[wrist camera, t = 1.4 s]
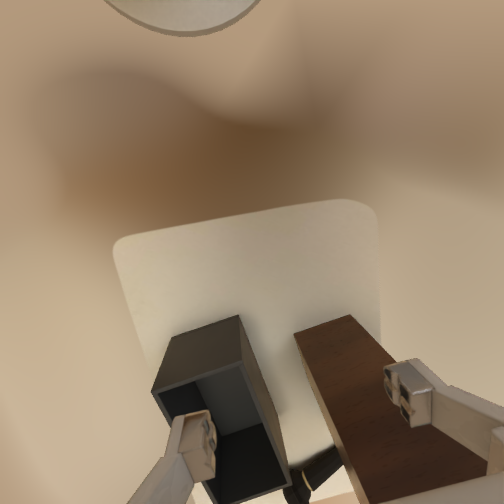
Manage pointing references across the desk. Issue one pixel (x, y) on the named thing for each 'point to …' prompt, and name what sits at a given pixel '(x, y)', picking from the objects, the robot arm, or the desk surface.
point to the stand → (376, 419)
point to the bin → (226, 408)
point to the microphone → (311, 477)
